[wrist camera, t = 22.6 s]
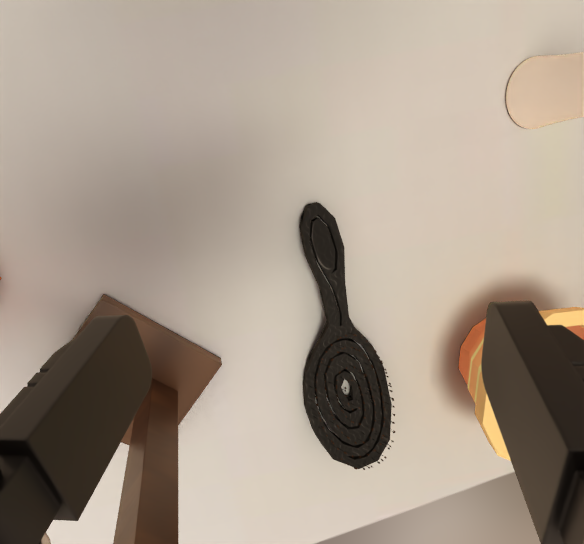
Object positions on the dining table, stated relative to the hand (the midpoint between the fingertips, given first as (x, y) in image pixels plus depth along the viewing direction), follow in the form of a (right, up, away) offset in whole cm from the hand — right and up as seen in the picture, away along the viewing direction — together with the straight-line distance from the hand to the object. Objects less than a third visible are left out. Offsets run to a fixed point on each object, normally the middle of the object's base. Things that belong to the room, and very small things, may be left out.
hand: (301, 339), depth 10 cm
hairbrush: (+4, -4, +30) cm, 31 cm away
